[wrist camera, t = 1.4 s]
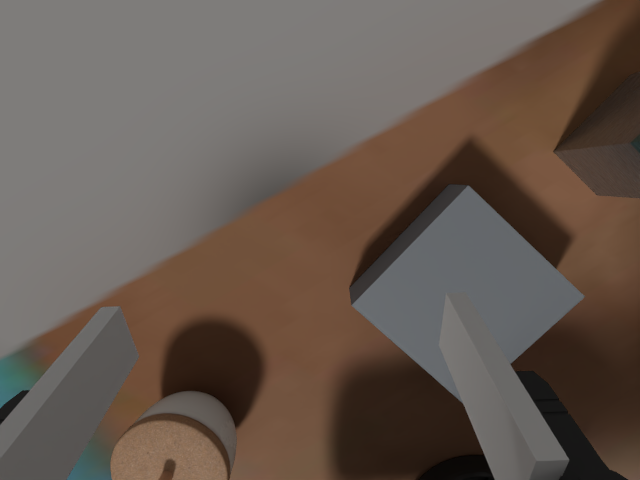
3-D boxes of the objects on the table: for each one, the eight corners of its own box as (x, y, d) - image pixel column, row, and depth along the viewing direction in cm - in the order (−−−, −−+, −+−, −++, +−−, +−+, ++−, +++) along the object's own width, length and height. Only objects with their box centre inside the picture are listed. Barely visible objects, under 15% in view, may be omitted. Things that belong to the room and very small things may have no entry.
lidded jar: (220, 357, 38) (183, 414, 29) (265, 439, 40) (243, 519, 30) (135, 394, 39) (73, 460, 30) (181, 472, 41) (136, 558, 32)
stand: (550, 280, 35) (585, 296, 30) (447, 375, 38) (464, 405, 33) (449, 184, 34) (468, 185, 29) (349, 288, 36) (351, 305, 31)
